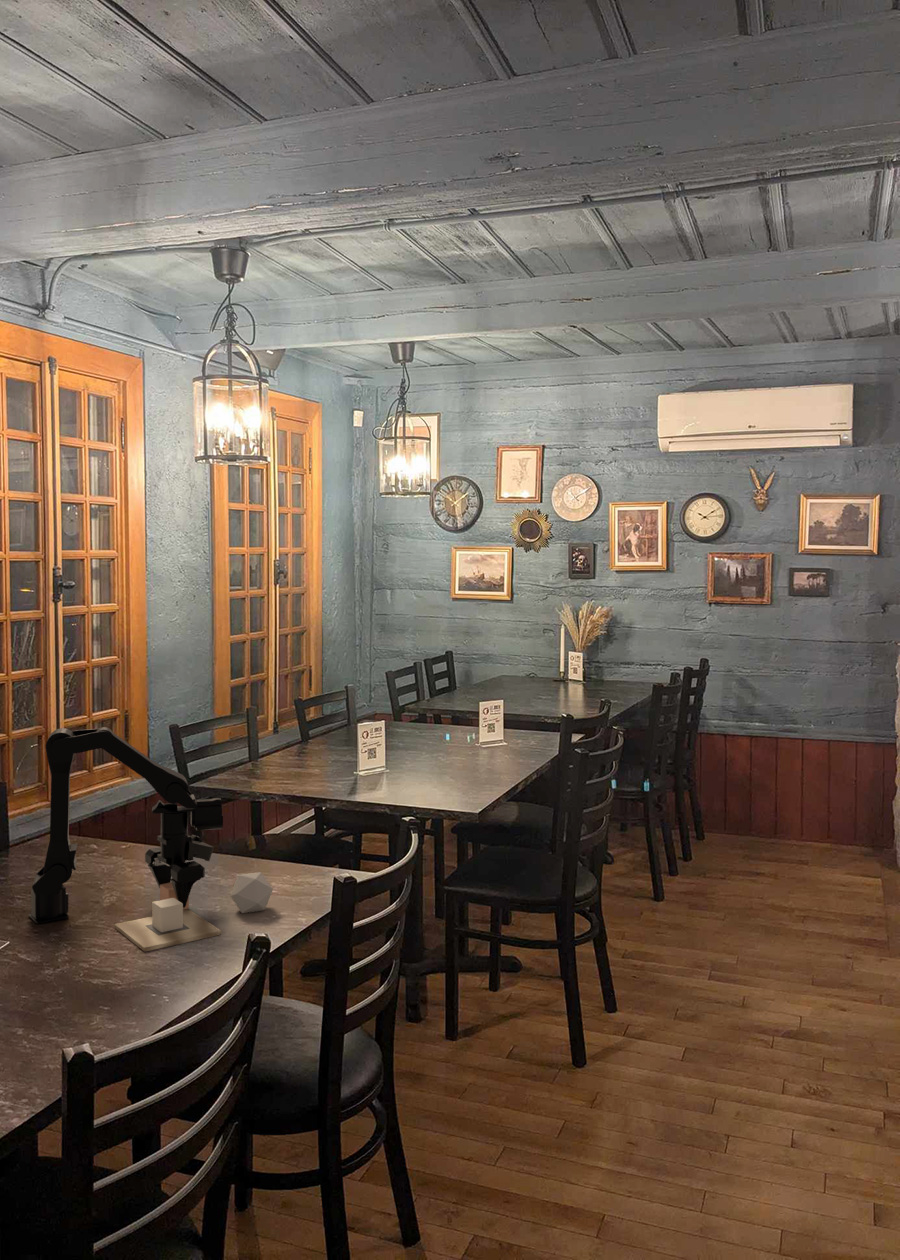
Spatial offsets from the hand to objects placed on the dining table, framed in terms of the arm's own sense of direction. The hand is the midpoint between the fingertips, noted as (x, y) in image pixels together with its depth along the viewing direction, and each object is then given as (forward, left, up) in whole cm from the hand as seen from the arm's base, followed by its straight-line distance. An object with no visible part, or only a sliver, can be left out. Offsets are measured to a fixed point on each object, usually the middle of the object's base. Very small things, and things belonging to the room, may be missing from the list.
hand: (174, 901), depth 221 cm
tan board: (-7, -13, -1) cm, 15 cm away
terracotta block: (0, 0, -1) cm, 1 cm away
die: (+13, -11, -1) cm, 17 cm away
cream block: (-7, -13, 0) cm, 15 cm away
